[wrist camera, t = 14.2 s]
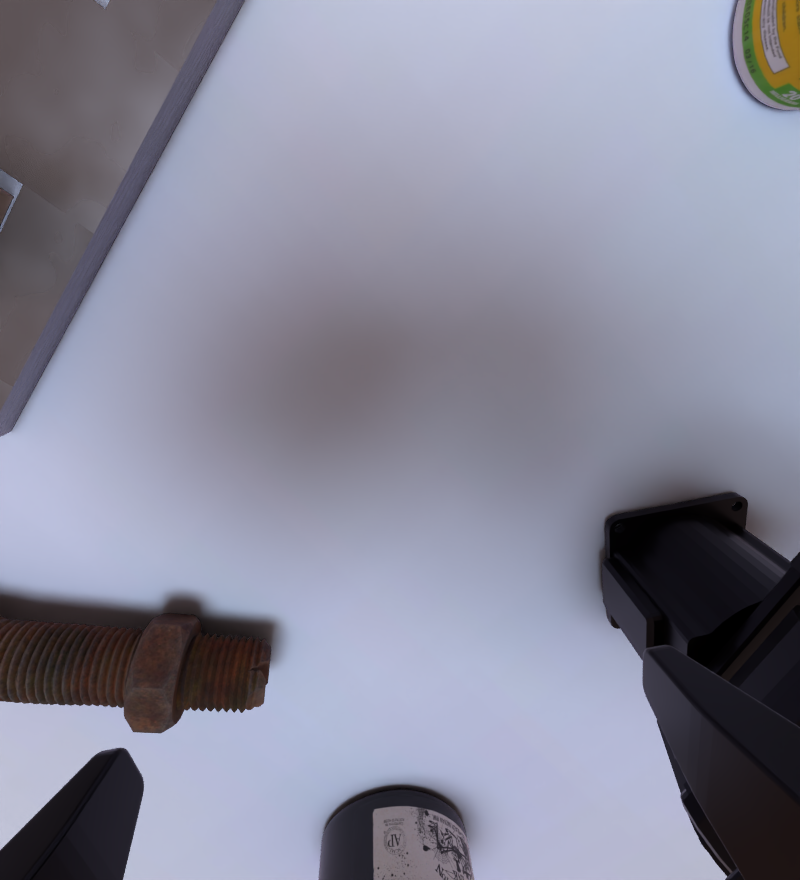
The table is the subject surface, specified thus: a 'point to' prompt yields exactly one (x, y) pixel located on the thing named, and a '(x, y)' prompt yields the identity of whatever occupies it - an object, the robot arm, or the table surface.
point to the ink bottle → (396, 840)
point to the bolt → (132, 668)
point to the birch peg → (4, 203)
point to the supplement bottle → (769, 50)
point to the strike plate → (82, 149)
